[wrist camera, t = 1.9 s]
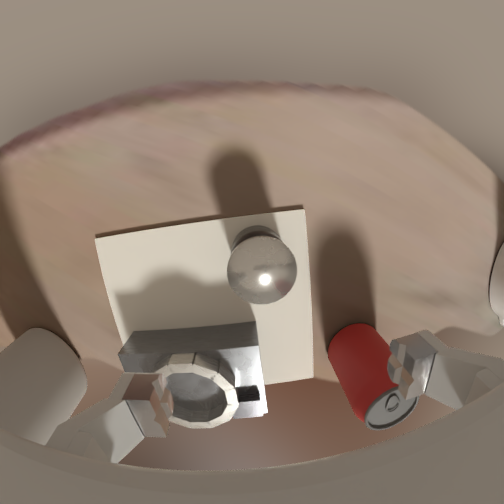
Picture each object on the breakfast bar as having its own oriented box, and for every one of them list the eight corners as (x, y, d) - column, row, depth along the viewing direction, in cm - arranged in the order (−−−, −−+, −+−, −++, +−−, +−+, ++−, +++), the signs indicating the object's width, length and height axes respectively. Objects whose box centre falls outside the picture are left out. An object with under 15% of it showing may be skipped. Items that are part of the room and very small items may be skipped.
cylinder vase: (99, 365, 31) (10, 511, 7) (78, 408, 33) (15, 521, 9) (31, 308, 29) (-89, 407, 5) (20, 359, 31) (-63, 450, 7)
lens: (281, 221, 27) (294, 233, 20) (286, 272, 28) (299, 299, 21) (227, 227, 27) (222, 241, 20) (234, 279, 28) (232, 308, 21)
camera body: (256, 320, 29) (259, 356, 23) (264, 384, 31) (269, 424, 25) (133, 331, 29) (111, 363, 23) (154, 390, 31) (141, 427, 25)
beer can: (373, 312, 30) (426, 369, 19) (378, 354, 32) (422, 414, 20) (321, 332, 31) (356, 402, 19) (331, 373, 32) (362, 443, 20)
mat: (303, 209, 27) (304, 209, 27) (312, 375, 32) (313, 377, 32) (96, 238, 27) (94, 238, 27) (141, 388, 32) (141, 390, 31)
